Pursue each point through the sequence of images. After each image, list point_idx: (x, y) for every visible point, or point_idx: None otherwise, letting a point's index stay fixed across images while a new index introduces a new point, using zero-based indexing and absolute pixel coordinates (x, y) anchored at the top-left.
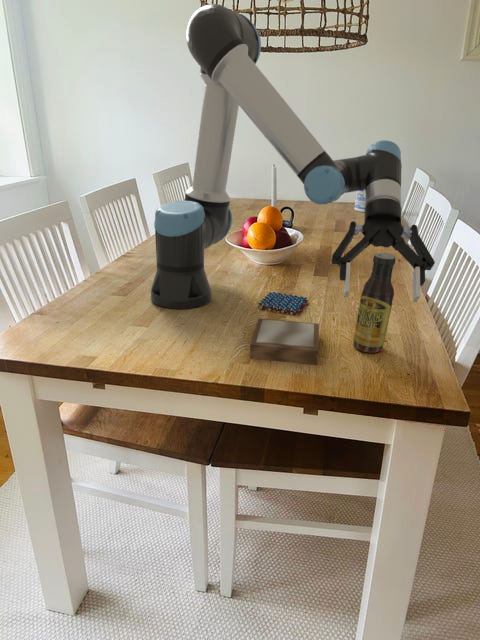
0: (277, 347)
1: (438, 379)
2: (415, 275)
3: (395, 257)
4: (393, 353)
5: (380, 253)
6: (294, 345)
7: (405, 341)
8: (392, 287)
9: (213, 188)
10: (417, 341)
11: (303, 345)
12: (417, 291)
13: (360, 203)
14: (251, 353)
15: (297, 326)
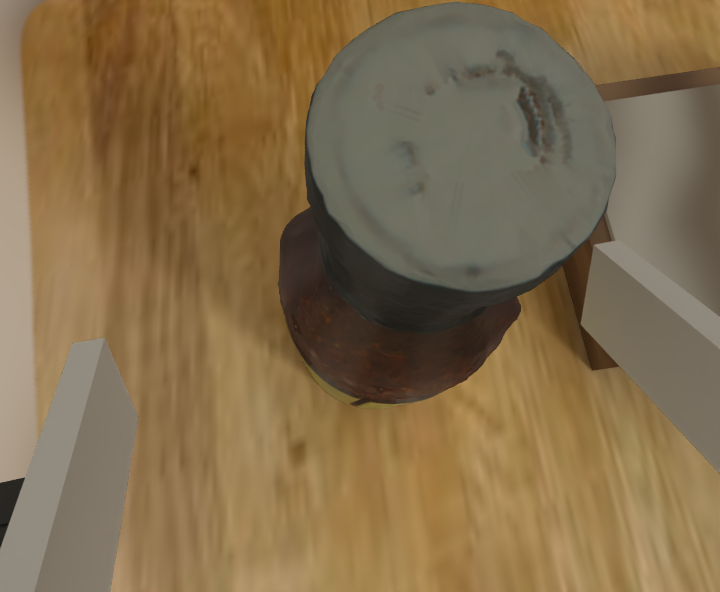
0: (694, 72)
1: (79, 172)
2: (69, 515)
3: (309, 137)
4: (255, 332)
5: (548, 217)
6: (644, 97)
7: (203, 489)
8: (295, 227)
9: None
10: (144, 516)
11: (612, 102)
12: (86, 364)
13: None
14: None
15: (701, 276)
